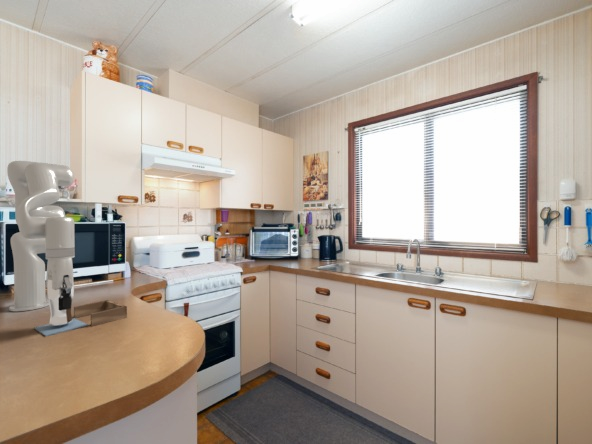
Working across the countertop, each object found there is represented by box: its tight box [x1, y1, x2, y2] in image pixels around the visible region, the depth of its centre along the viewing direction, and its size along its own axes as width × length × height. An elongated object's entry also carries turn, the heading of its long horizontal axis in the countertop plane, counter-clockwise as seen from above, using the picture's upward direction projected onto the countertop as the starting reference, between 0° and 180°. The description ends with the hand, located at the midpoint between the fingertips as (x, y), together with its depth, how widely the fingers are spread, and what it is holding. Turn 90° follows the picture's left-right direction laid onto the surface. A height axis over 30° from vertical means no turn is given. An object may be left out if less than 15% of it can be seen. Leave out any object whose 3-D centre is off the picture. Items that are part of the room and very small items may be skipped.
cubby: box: [73, 299, 128, 327], centre depth 106 cm, size 16×11×4 cm
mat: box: [33, 317, 89, 337], centre depth 96 cm, size 12×11×1 cm
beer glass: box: [46, 279, 75, 326], centre depth 96 cm, size 7×7×15 cm
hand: (61, 307), depth 96 cm, fingers closed on beer glass, 6 cm apart
